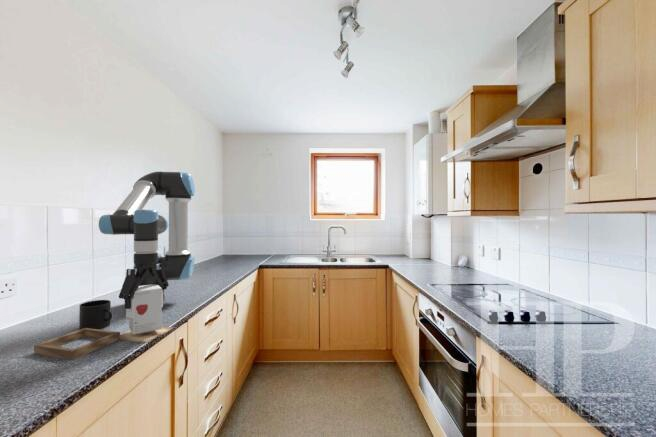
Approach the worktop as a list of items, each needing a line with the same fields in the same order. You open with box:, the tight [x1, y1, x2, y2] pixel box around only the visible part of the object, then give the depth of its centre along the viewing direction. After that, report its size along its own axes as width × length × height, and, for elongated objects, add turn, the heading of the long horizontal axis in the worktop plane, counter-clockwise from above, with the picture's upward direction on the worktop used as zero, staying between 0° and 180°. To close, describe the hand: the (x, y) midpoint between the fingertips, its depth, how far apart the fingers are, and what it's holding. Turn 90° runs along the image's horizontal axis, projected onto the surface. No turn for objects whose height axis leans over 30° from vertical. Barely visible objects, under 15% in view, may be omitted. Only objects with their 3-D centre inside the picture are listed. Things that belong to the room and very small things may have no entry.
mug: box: [78, 299, 113, 330], centre depth 115 cm, size 9×12×9 cm
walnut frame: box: [33, 328, 121, 361], centre depth 98 cm, size 15×15×2 cm
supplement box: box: [128, 284, 163, 335], centre depth 109 cm, size 9×9×15 cm
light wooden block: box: [118, 325, 175, 344], centre depth 109 cm, size 13×13×1 cm
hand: (145, 312), depth 109 cm, fingers closed on supplement box, 12 cm apart
